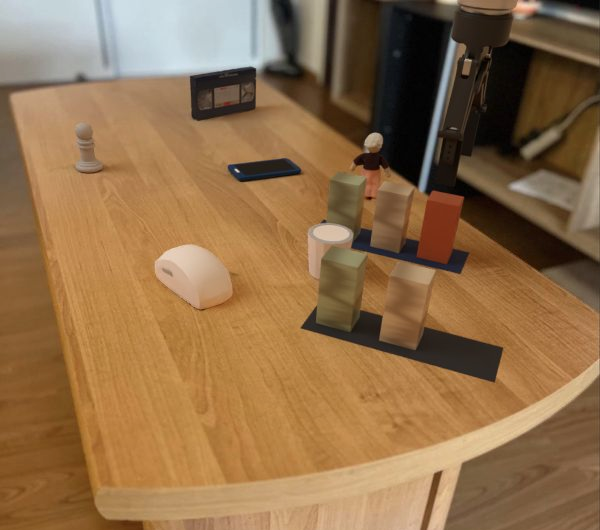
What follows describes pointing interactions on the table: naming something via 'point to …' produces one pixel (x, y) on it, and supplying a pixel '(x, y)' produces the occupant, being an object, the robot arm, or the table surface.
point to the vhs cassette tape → (223, 92)
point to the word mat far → (409, 253)
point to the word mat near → (421, 346)
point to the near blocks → (398, 305)
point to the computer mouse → (194, 275)
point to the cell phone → (263, 169)
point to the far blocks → (388, 209)
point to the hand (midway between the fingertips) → (454, 168)
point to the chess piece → (86, 149)
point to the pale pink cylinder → (326, 243)
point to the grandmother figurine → (372, 165)
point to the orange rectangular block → (439, 226)
